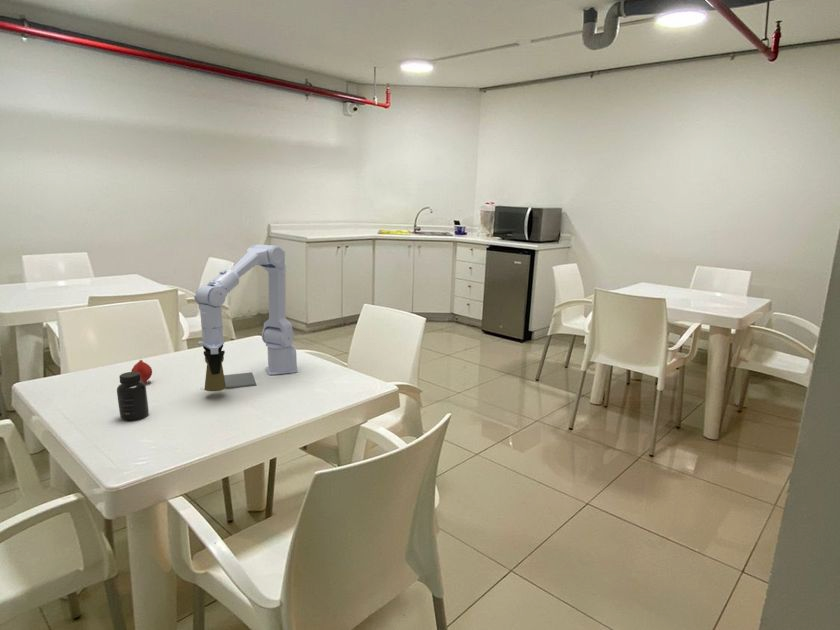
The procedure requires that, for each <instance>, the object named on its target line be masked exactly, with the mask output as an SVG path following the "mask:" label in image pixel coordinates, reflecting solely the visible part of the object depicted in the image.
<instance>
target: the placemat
mask: <svg viewBox="0 0 840 630" xmlns="http://www.w3.org/2000/svg"><path fill="white" fill-rule="evenodd" d="M224 379H225V384H226V388H225V389H224V390H231V389H239V388H245V387H246V388H247V387H254V386H255V387H256V386H257V382H256V379H255V376H254V374H253V372H252V371H251V372H241V373H232V374H224Z"/></svg>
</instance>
